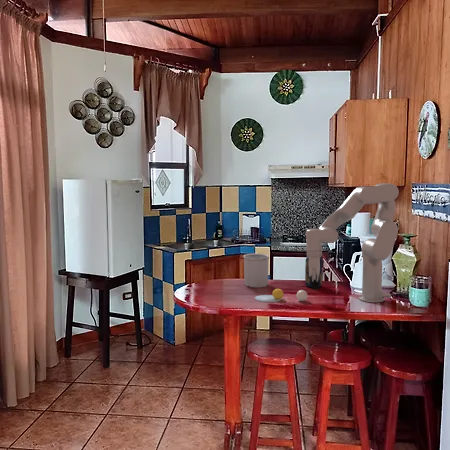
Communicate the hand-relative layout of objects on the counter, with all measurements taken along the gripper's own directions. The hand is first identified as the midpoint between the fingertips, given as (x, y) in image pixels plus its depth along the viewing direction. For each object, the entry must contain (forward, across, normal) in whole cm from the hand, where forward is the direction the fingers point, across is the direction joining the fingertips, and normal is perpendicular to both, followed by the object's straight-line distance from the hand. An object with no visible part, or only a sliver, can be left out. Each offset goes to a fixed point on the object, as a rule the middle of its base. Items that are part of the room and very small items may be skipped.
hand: (315, 288), depth 229 cm
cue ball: (+4, 0, -7) cm, 8 cm away
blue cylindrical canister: (+7, -32, -4) cm, 33 cm away
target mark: (+5, 0, -24) cm, 25 cm away
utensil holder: (+6, -28, -36) cm, 47 cm away
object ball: (+3, 0, -19) cm, 19 cm away
